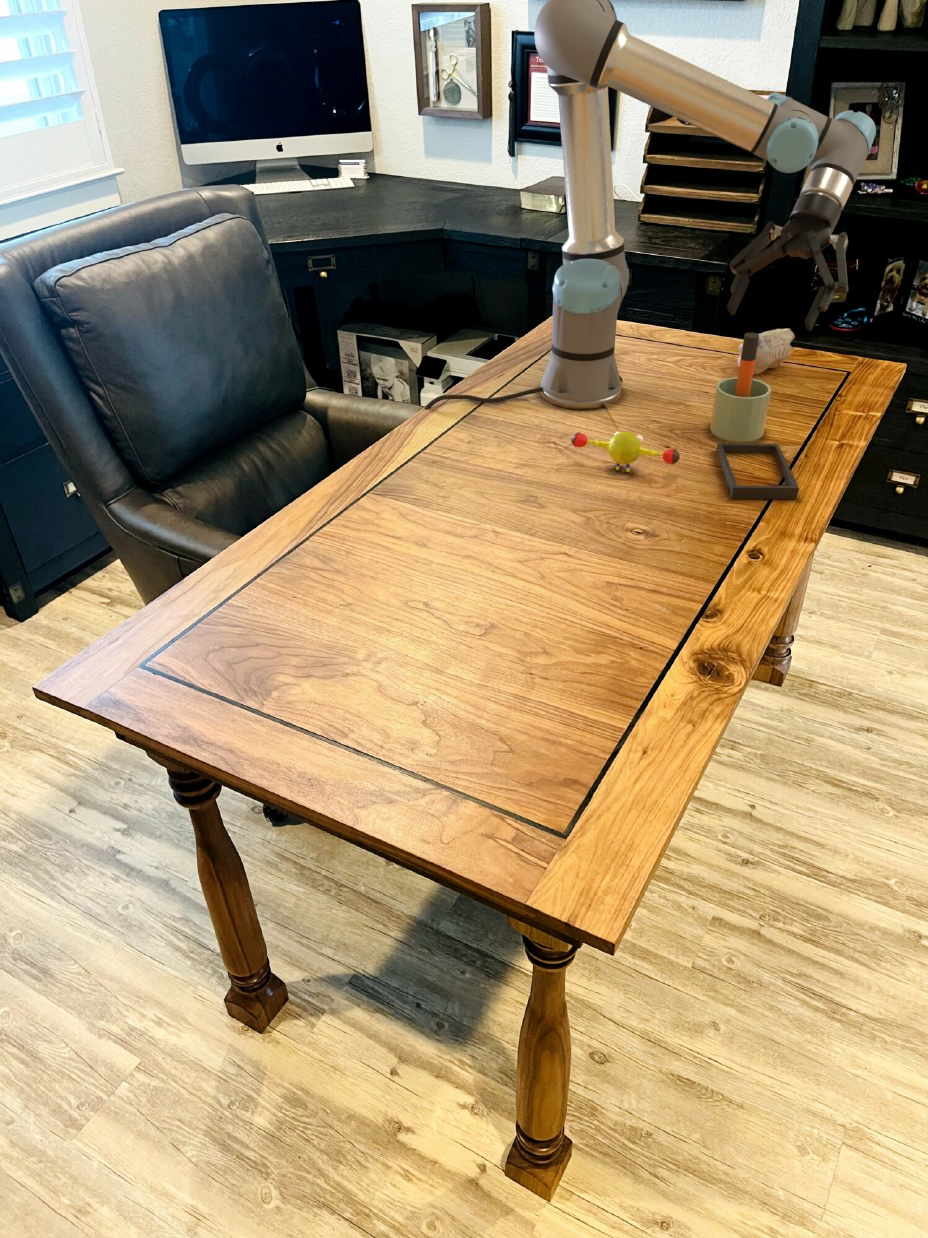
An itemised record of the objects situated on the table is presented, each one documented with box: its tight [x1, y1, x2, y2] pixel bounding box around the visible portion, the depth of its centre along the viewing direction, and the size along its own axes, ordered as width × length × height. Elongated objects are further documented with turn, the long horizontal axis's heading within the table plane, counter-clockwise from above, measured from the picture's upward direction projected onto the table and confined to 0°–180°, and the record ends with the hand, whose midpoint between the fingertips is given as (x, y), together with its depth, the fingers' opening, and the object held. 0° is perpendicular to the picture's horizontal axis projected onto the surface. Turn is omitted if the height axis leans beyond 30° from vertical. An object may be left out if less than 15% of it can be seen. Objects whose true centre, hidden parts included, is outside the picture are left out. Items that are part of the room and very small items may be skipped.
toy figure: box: [570, 431, 681, 474], centre depth 156 cm, size 18×6×7 cm, turn 65°
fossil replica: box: [737, 328, 796, 375], centre depth 189 cm, size 12×8×10 cm
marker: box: [735, 332, 760, 397], centre depth 163 cm, size 2×2×17 cm
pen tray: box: [716, 443, 800, 500], centre depth 155 cm, size 15×10×2 cm, turn 177°
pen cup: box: [709, 376, 772, 443], centre depth 166 cm, size 9×9×8 cm
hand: (768, 318), depth 161 cm, fingers open, 13 cm apart
